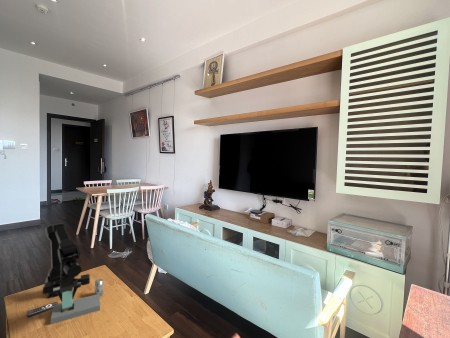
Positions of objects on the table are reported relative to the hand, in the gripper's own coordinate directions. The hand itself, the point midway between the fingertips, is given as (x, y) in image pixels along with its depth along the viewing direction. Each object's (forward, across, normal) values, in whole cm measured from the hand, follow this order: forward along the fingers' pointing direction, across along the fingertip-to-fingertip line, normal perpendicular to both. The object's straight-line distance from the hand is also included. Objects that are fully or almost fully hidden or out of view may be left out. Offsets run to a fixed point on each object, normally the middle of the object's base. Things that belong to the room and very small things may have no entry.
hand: (67, 299), depth 109 cm
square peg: (+3, 0, 0) cm, 3 cm away
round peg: (+7, +14, +9) cm, 18 cm away
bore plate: (+7, +4, 0) cm, 8 cm away
